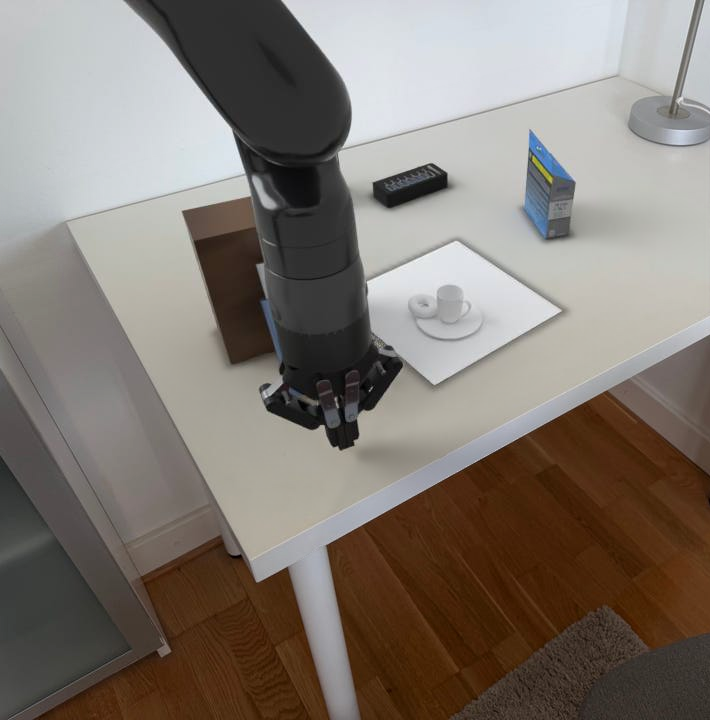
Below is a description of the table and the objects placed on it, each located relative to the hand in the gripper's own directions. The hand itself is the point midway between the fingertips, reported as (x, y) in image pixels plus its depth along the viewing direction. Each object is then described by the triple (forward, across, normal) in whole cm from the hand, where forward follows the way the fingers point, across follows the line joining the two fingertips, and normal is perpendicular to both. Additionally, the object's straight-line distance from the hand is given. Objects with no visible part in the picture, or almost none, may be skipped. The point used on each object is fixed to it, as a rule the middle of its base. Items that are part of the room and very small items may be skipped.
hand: (343, 442), depth 66 cm
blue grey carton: (+2, -40, -28) cm, 48 cm away
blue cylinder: (+1, 0, -12) cm, 12 cm away
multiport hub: (+2, -26, -44) cm, 51 cm away
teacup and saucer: (+2, -19, -17) cm, 25 cm away
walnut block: (+1, 0, -20) cm, 20 cm away
